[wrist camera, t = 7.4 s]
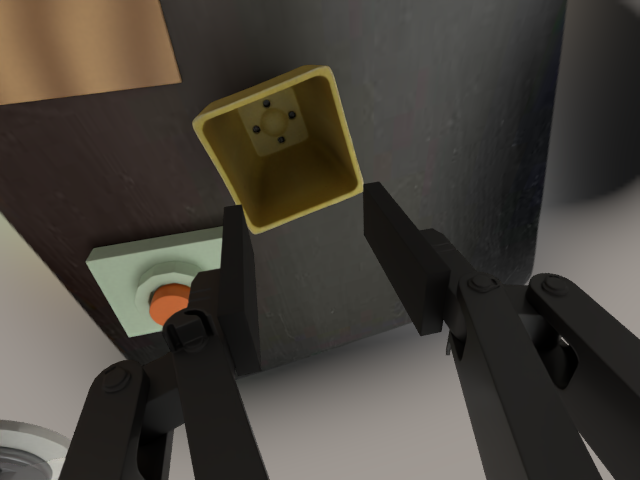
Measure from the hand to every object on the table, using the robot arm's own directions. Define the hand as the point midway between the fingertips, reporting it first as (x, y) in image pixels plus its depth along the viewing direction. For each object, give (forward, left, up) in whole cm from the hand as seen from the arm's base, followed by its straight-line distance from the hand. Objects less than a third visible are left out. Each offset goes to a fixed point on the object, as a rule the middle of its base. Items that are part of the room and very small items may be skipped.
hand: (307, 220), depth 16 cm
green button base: (-12, -14, -17) cm, 25 cm away
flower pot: (0, 0, -17) cm, 17 cm away
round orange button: (-12, -14, -13) cm, 23 cm away
